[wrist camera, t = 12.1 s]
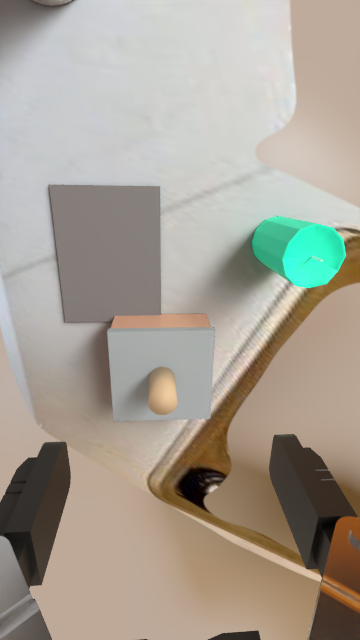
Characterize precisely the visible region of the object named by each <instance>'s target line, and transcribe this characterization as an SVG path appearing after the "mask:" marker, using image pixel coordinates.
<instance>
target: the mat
mask: <svg viewBox="0 0 360 640" xmlns="http://www.w3.org/2000/svg"><path fill="white" fill-rule="evenodd" d="M49 189H50V198H51V206H52V215H53V223H54V232H55V240H56V249H57V257H58V266H59V274H60V282H61V291H62V299H63V308H64V316H65V322H113V320H114V317H115V316H138V315H161V265H160V187H156V186H93V185H49Z"/></svg>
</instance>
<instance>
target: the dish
mask: <svg viewBox="0 0 360 640" xmlns="http://www.w3.org/2000/svg"><path fill="white" fill-rule="evenodd" d="M177 327H211V326H210V323H209V321H208V318H207V316H206V314H161V315H138V316H115V317H114V320H113V323H112V326H111V328H177Z"/></svg>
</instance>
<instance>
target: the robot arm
mask: <svg viewBox="0 0 360 640" xmlns="http://www.w3.org/2000/svg"><path fill="white" fill-rule="evenodd" d="M32 1H34V2H36V3H39V4H43V5H48V6H55V5H62V4H65V3H68V2H71V1H72V0H32ZM269 470H270V477H271V481H272V484H273V487H274V488H275V491H276V494H277V496H278V499H279V502H280V504H281V506H282V509H283V511H284V514H285V516H286V519H287V521H288V524H289V527H290V529H291V531H292V534H293V537H294V539H295V542H296V544H297V547H298V549H299V552H300V554H301V557H302V559H303V562H304V564H305V567H306V569H318V570H319V572H320V574H321V577H322V580H321V584H320V588H319V592H318V597H317V601H316V605H315V609H314V613H313V617H312V621H311V625H310V630H309V634H308V638H307V640H360V518H358V516H357V515H356V513H355V512H354V510H353V508H352V507H351V505H350V503H349V502H348V500H347V499H346V497H345V495H344V494H343V492H342V490H341V489H340V487H339V486H338V484H337V483H336V481H334V478H333V476H332V475H331V473H330V471H328V468H327V466H326V465H325V463H324V462H323V460H322V458H321V457H320V456H318V454H316V453H315V452H314V451H313V450H312V449H311V448H303V447H302V446H301V444H300V442H299V440H298V439H297V437H296V436H295V435H294V434H286V435H274V437H273V443H272V450H271V458H270V464H269ZM70 477H71V476H70V466H69V458H68V451H67V445H66V442H45V443H44V444H43V446H42V448H41V450H40V452H39V455H38V457H35V458H28V459H27V460H25V462H23V464H22V465H21V466H19V468H17V470H16V472H15V474H14V476H13V478H12V480H11V483H10V484H9V486H8V488H7V490H6V493H5V495H4V496H3V498H2V500H1V502H0V640H52V638H51V636H50V633H49V631H48V628H47V626H46V624H45V621H44V619H43V616H42V614H41V611H40V609H39V607H38V604H37V602H36V600H35V599H33V598H32V596H31V593H30V591H29V588H30V586H35V585H42V582H43V578H44V575H45V571H46V568H47V565H48V561H49V558H50V554H51V551H52V547H53V544H54V540H55V537H56V533H57V530H58V526H59V523H60V520H61V516H62V513H63V509H64V506H65V502H66V499H67V495H68V492H69V488H70ZM142 640H143V639H142ZM144 640H147V639H144ZM208 640H260V635H259V631H247V632H233V633H222V634H220V635H218V636H215V637H213V638H211V639H208Z"/></svg>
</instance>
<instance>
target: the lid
mask: <svg viewBox="0 0 360 640" xmlns="http://www.w3.org/2000/svg"><path fill="white" fill-rule="evenodd" d="M107 337H108V351H109V365H110V379H111V394H112V408H113V422H116V421H147V420H178V419H209V418H210V412H211V394H212V376H213V358H214V340H215V329H214V327H177V328H108V331H107Z"/></svg>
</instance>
